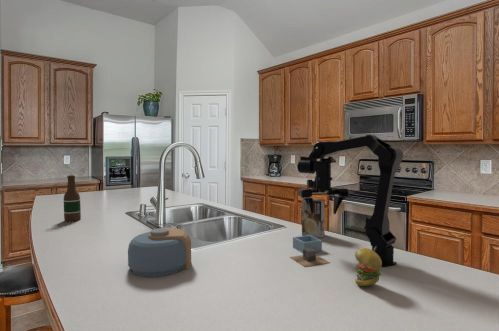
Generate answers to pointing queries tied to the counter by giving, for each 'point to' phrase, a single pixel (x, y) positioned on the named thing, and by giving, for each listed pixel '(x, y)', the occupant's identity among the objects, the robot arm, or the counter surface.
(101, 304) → the counter surface
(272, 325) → the counter surface
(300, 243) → the light blue open box
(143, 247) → the blue squat cylinder
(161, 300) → the counter surface
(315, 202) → the coffee box
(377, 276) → the hamburger
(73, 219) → the beer bottle
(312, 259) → the lid
